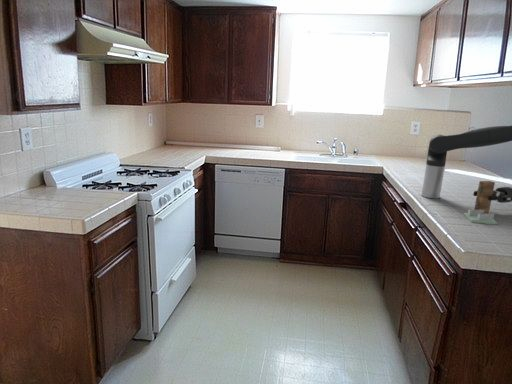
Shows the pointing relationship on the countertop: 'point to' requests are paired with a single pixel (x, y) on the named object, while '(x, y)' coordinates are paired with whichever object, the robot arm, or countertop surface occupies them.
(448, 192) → the countertop surface
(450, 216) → the countertop surface
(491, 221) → the hinge base
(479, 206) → the door
